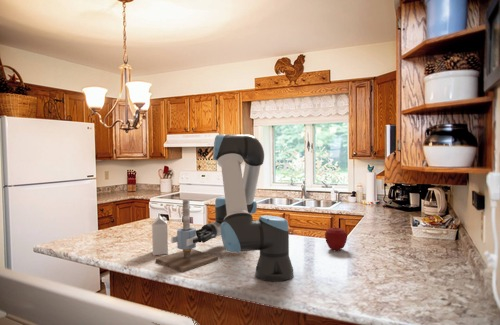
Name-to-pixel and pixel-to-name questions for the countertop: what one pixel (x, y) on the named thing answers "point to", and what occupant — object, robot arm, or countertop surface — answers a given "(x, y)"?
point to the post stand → (189, 256)
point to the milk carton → (160, 236)
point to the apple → (336, 238)
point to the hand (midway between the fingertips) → (179, 241)
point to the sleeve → (185, 238)
